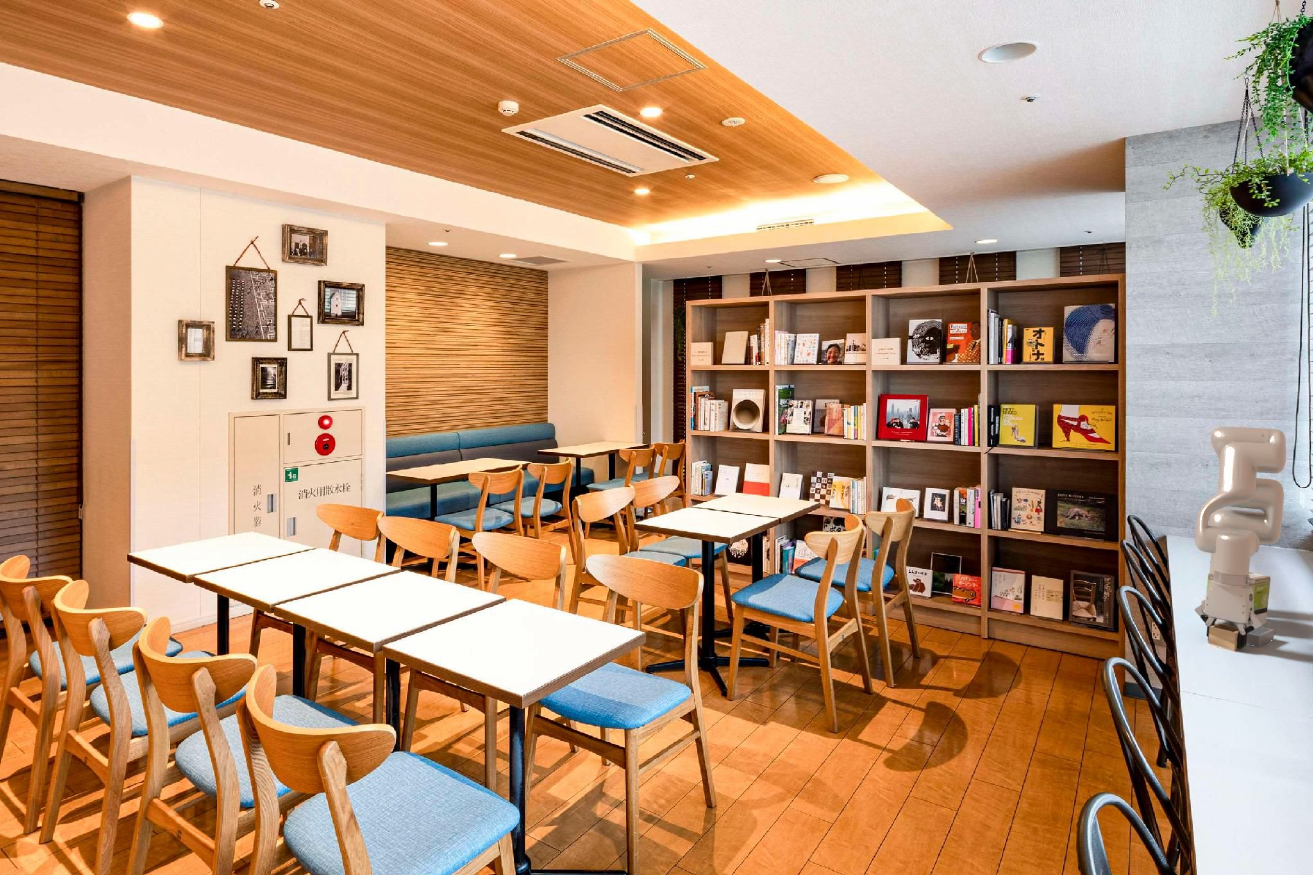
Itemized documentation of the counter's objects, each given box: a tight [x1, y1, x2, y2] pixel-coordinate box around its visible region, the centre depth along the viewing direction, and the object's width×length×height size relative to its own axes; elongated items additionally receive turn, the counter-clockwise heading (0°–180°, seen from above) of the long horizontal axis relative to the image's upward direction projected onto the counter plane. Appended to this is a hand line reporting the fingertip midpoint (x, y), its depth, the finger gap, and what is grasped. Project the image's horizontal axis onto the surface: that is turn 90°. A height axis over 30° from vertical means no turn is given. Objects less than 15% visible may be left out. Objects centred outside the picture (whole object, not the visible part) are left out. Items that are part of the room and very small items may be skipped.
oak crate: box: [1207, 623, 1240, 652], centre depth 207 cm, size 6×6×5 cm
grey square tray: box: [1221, 621, 1275, 648], centre depth 213 cm, size 11×11×3 cm
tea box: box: [1203, 571, 1271, 625], centre depth 226 cm, size 15×10×15 cm
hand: (1225, 643), depth 207 cm, fingers closed on oak crate, 6 cm apart
